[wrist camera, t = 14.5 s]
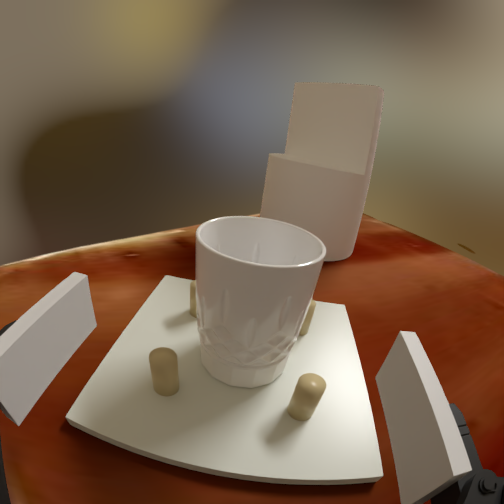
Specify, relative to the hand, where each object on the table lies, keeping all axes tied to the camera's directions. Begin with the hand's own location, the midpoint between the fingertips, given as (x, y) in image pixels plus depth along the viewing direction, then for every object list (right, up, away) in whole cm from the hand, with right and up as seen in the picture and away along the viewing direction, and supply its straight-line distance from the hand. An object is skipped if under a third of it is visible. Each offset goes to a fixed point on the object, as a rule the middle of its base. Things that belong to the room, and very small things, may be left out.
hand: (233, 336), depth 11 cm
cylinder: (+10, +5, +40) cm, 42 cm away
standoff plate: (0, -6, +11) cm, 12 cm away
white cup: (0, -5, +11) cm, 12 cm away
